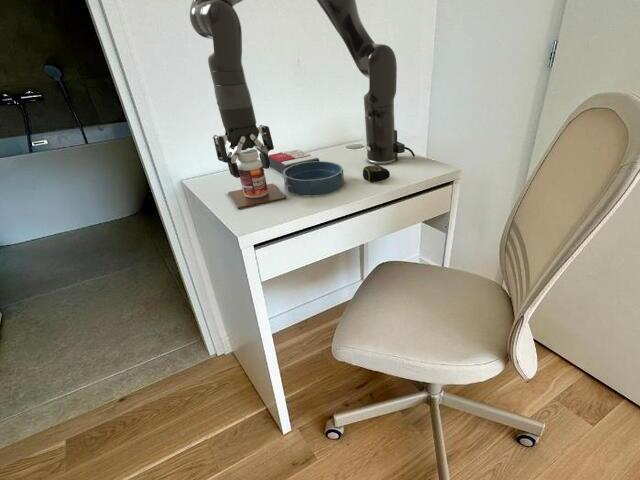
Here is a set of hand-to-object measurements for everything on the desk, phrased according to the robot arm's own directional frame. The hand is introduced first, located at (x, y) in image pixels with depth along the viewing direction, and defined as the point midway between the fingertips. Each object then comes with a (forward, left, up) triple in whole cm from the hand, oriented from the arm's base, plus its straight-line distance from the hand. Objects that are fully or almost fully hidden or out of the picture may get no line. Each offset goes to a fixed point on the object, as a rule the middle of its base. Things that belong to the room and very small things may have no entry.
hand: (251, 172), depth 100 cm
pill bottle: (0, 0, -6) cm, 6 cm away
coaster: (0, 0, -7) cm, 7 cm away
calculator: (-16, -17, -7) cm, 24 cm away
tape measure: (-33, +6, -7) cm, 34 cm away
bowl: (-16, +1, -7) cm, 17 cm away
